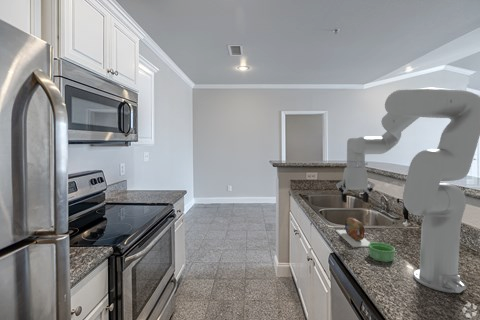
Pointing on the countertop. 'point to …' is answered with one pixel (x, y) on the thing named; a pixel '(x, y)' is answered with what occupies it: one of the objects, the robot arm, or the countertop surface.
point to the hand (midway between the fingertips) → (354, 201)
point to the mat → (351, 241)
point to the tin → (354, 228)
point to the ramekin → (381, 251)
